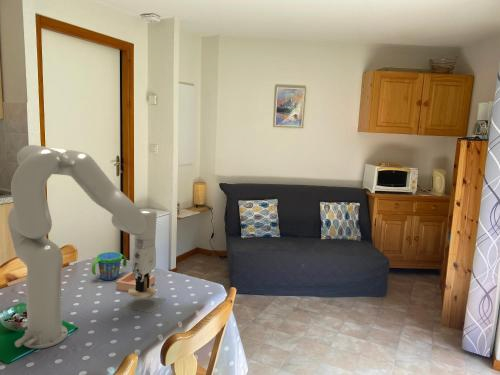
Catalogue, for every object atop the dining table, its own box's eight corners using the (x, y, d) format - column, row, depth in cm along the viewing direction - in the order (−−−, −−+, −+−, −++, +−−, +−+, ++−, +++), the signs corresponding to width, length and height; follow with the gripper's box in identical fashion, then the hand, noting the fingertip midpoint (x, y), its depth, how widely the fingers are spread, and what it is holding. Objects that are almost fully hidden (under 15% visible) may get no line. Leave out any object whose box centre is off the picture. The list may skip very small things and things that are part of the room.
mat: (151, 313, 137) (151, 312, 137) (121, 308, 140) (121, 307, 140) (166, 299, 149) (166, 299, 149) (139, 295, 152) (139, 294, 152)
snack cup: (121, 270, 177) (121, 249, 175) (131, 277, 169) (131, 255, 168) (87, 277, 166) (86, 255, 164) (96, 285, 158) (96, 262, 157)
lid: (147, 299, 137) (148, 284, 136) (122, 295, 139) (123, 279, 139) (160, 290, 147) (161, 275, 146) (137, 285, 149) (138, 271, 148)
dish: (141, 295, 152) (141, 285, 151) (116, 290, 155) (116, 281, 154) (154, 284, 163) (155, 275, 162) (131, 280, 166) (131, 271, 165)
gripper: (142, 249, 132) (139, 299, 134) (164, 238, 148) (161, 283, 150) (123, 246, 134) (121, 295, 136) (146, 235, 149) (144, 280, 152)
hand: (142, 288), depth 143 cm, fingers closed on lid, 3 cm apart
